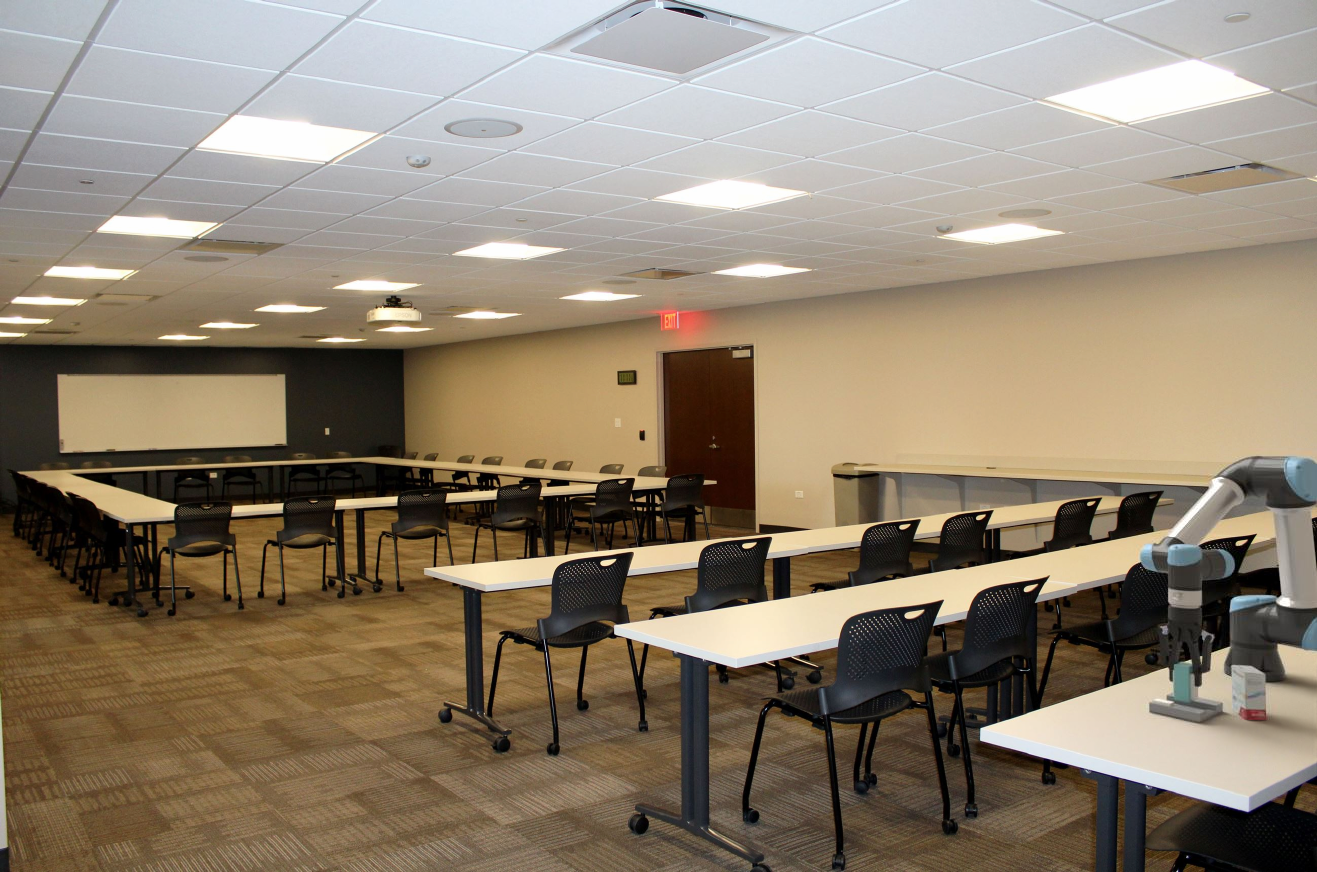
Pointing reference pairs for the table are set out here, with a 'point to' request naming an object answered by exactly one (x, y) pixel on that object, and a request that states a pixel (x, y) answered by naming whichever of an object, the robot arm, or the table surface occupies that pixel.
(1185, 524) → the robot arm
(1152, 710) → the socket
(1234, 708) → the ink box
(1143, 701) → the table surface
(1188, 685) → the plug
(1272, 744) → the table surface
